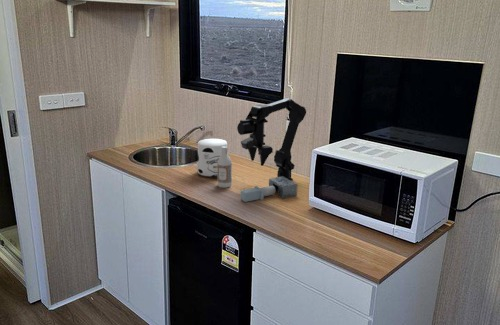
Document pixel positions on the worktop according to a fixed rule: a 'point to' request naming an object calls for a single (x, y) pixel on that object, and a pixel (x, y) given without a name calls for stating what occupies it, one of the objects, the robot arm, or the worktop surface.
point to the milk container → (209, 156)
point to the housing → (284, 187)
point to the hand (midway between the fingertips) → (257, 163)
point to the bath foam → (224, 169)
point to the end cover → (257, 193)
